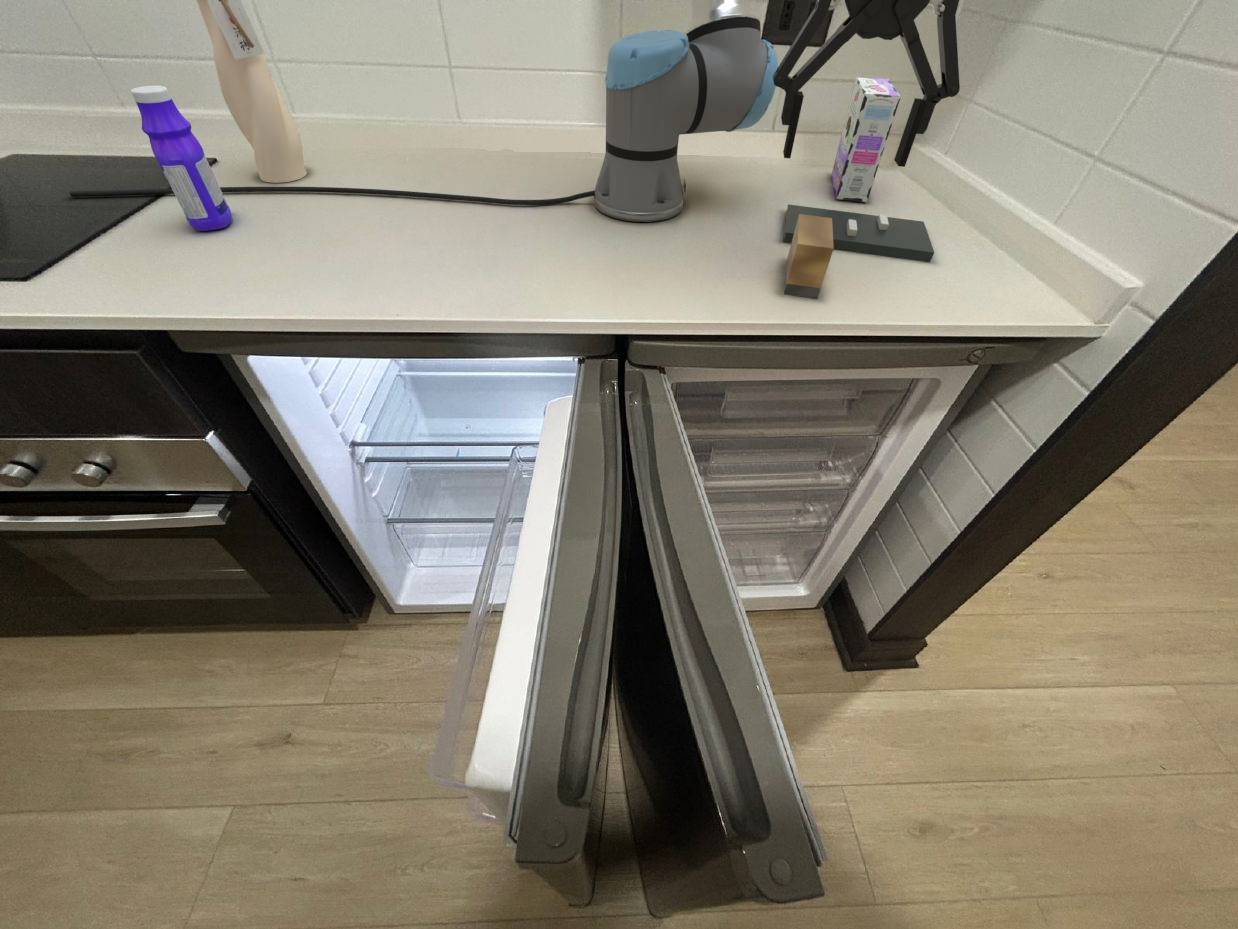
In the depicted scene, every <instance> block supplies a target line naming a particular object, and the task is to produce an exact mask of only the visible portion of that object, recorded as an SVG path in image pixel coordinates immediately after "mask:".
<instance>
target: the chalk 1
mask: <svg viewBox="0 0 1238 929" xmlns="http://www.w3.org/2000/svg"><path fill="white" fill-rule="evenodd" d="M856 233H857V223H856V220H851V219H848V222H847V235H849V236H856Z"/></svg>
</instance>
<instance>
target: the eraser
mask: <svg viewBox="0 0 1238 929" xmlns="http://www.w3.org/2000/svg"><path fill="white" fill-rule="evenodd" d="M833 253H834V246H833V227H832V218H826V217H819V216H811V215H803V214H799V216H798V220H797V224H796V228H795V231H794V235H793V239H792V243H790V247H789V251H788V254H787V259H786V264H785V274H784V275H785V277H784V287H783V295H787V296H794V297H795V296H796V297H802V298H808V299H815V300H818V299H819V296H820V293H821V290H822V287H823V283H824V280H825V277H826V274H827V271H828V268H829V264H830V262H831V258H832V256H833Z"/></svg>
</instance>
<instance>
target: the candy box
mask: <svg viewBox="0 0 1238 929" xmlns="http://www.w3.org/2000/svg"><path fill="white" fill-rule="evenodd" d="M852 88H853V89H852V93H851V96H850V100H849V104H848V108H847V112H846V116H845V120H844V124H843V127H842V132H841V136H840V140H839V143H838V144H839V145H838V147H837V152H836V155H835V159H834V162H833V167H832V171H831V175H830V177H831V182H832V187H833V190H834V191H833V192H834V196H835V200H841V201H853V202H862V203H867V202H868V201H869V197H870V195H871V191H872V189H873V185H874V182H875V178H876V175H877V171H878V168H879V166H880V163H881V159H882V156H883V153H884V150H885V147H886V144H887V140H888V138H889V135H890V132H891V129H892V125H893V124H894V123H893V122H894V119H895V116H896V113H897V110H898V107H899V104H900V101H901V97H902V96H901V95H900V94H899V92H898V90H897V89H896V88H895V87H894V85H893V84H892V82H891V81H890V79H888V78H878V77H877V78H874V77H856V78H855V82H854V84H853V87H852Z"/></svg>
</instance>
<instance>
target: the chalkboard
mask: <svg viewBox="0 0 1238 929" xmlns="http://www.w3.org/2000/svg"><path fill="white" fill-rule="evenodd" d="M786 208H787V209H786V212H785V219H784V220H785V221H784V232H783V242H784V243H790V244H791V243H792V239H793V235H794V231H795V228H796V224H797V220H798V216H799V214H803V215H811V216H819V217H826V218H832V227H833V246H834V249H835V250H841V251H847V252H854V253H863V254H869V255H870V254H871V255H877V256H884V257H892V258H899V259H907V260H913V261H920V262H928V263H930V262H931V261H932V259H933V257H934V255H935V249H934V247H933V244H932V241H931V238H930V236H929V233H928V230H927V227H926V223H925V221H923V220H914V219H907V218H898V217H892V216H891V217H890V216H887V219H888V223H889V226H888V228H887V230H879V227H878V222H877V219H878V216H879V215H876V214H875V215H874V214H866V213H858V212H852V211H843V210H835V209H828V208H821V207H813V206H804V205H798V204H797V205H796V204H790V203H789V204H788V205H787V207H786ZM848 219H851V220H856V223H857V233H856V236H849V235H847V222H848ZM834 249H833V250H834Z"/></svg>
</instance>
